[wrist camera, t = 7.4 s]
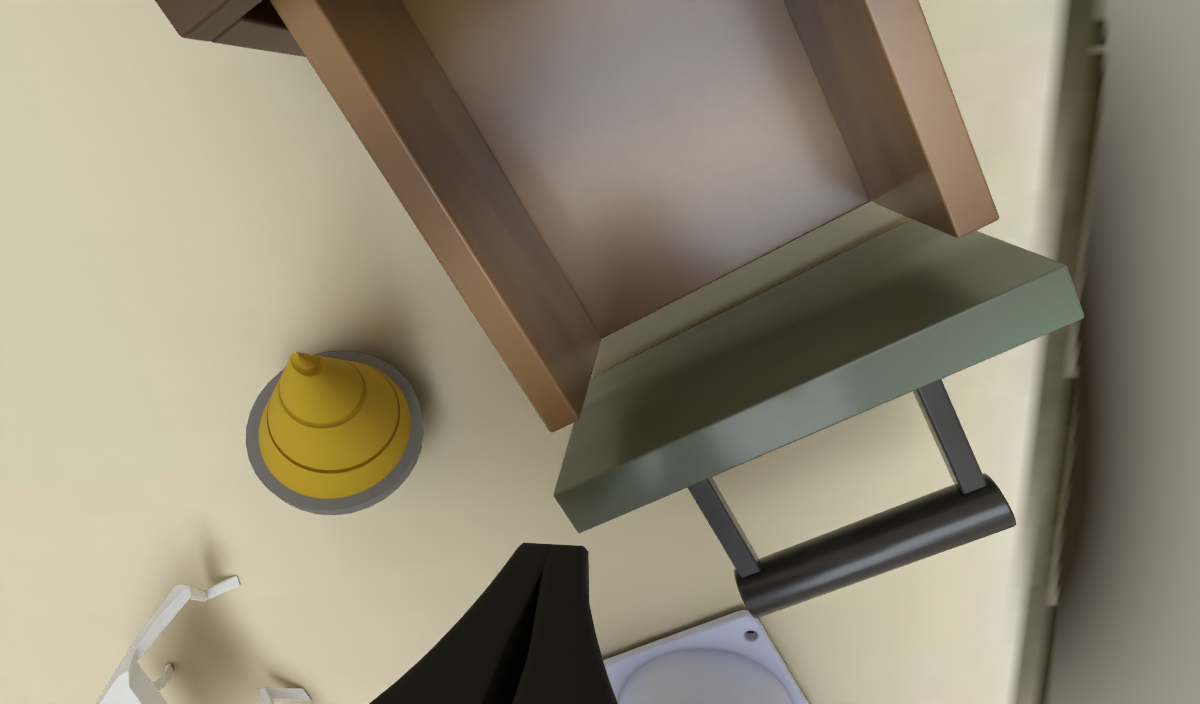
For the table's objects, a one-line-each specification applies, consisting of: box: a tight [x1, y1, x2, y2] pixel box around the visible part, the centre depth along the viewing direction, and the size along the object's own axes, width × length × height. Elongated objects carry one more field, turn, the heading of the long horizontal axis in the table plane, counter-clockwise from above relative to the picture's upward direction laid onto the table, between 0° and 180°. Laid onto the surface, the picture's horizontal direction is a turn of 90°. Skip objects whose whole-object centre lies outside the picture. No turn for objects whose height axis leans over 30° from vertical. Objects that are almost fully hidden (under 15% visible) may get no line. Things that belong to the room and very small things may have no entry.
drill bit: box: [246, 351, 423, 515], centre depth 19 cm, size 5×5×10 cm
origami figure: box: [96, 576, 311, 704], centre depth 26 cm, size 12×8×5 cm
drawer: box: [270, 0, 1084, 618], centre depth 16 cm, size 20×11×7 cm, turn 30°
